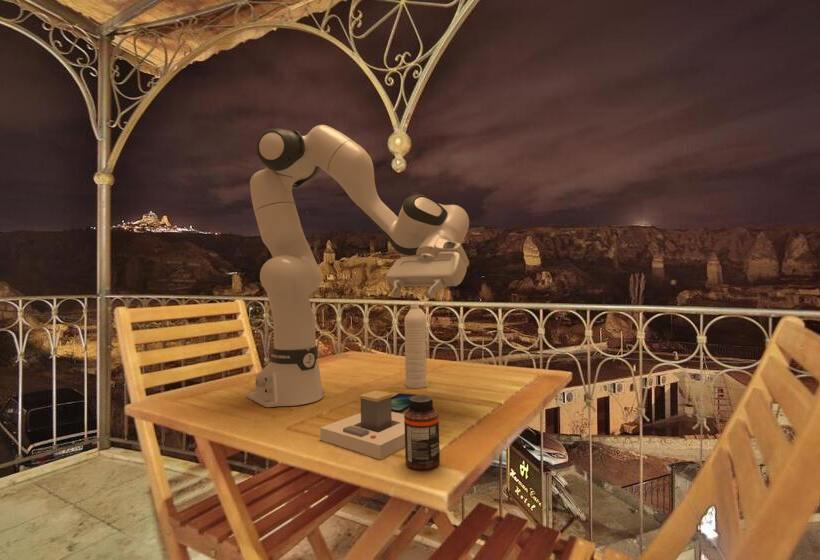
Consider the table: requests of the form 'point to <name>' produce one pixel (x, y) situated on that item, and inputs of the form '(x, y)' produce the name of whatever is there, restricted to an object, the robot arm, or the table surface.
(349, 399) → the table surface
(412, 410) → the supplement bottle
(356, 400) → the table surface
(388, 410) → the plug
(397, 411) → the smartphone
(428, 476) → the table surface
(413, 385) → the water bottle
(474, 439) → the table surface
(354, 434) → the socket plate
